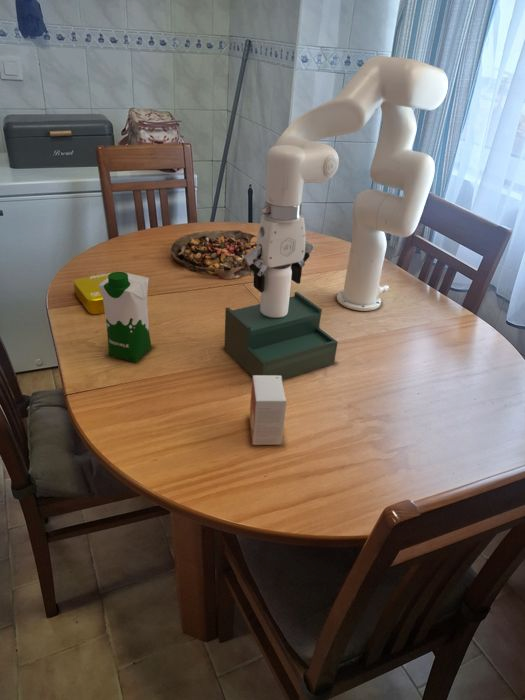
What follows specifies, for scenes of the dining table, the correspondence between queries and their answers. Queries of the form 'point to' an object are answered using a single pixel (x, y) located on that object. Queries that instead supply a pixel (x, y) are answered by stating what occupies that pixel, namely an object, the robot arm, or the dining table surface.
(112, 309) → the milk carton
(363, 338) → the dining table surface
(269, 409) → the small box
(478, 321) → the dining table surface
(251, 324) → the step rack
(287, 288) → the can
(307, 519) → the dining table surface
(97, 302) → the yellow tin box
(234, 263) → the food dish
